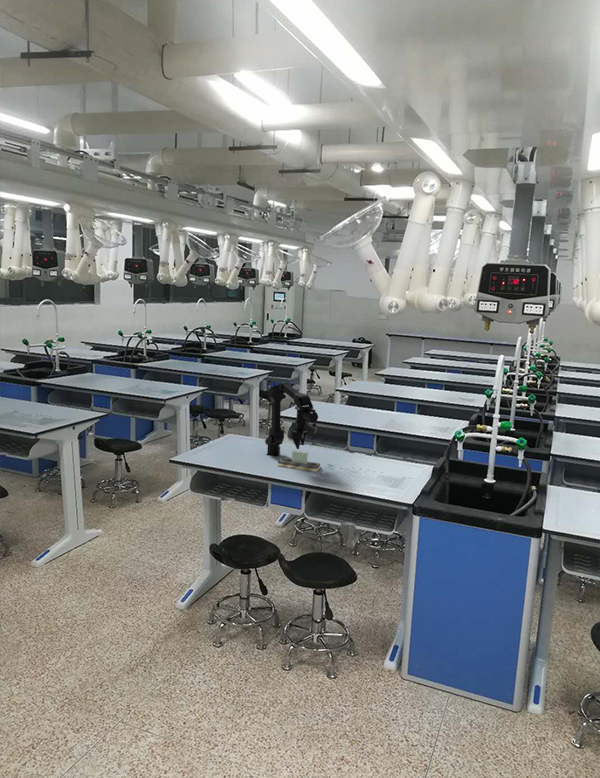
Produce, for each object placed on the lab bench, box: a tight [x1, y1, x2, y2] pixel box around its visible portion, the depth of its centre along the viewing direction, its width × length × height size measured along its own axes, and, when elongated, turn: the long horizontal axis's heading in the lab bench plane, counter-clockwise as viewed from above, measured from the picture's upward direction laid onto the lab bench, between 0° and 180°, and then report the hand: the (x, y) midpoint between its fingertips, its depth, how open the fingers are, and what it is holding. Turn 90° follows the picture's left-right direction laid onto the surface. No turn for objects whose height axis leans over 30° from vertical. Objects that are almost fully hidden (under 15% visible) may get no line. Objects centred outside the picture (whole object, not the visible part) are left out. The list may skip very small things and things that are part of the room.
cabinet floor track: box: [276, 457, 322, 473], centre depth 312 cm, size 22×9×2 cm, turn 73°
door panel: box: [291, 450, 309, 464], centre depth 312 cm, size 8×2×7 cm, turn 73°
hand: (300, 446), depth 310 cm, fingers open, 9 cm apart
